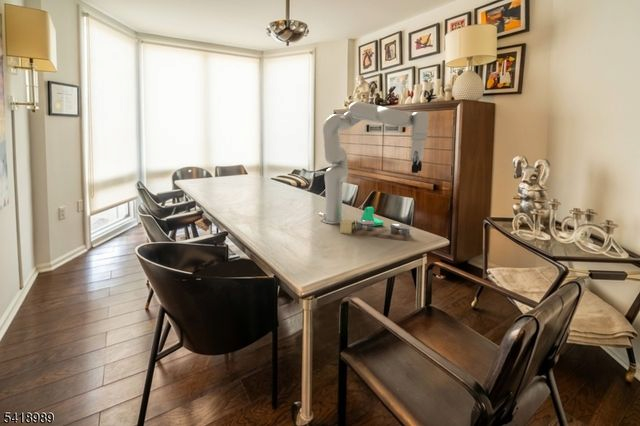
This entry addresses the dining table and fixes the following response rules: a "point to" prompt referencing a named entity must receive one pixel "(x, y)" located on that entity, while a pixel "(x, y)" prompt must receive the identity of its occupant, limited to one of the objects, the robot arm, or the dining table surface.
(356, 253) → the dining table surface
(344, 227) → the gold square block
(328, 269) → the dining table surface
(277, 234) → the dining table surface
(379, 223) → the camera mount
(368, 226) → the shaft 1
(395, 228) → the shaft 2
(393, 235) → the shaft bed
